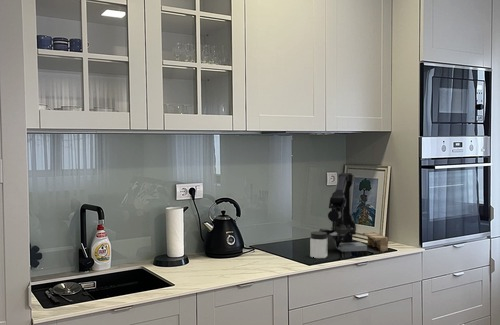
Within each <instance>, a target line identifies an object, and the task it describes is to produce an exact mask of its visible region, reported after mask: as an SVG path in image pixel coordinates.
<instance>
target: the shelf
mask: <svg viewBox="0 0 500 325" xmlns="http://www.w3.org/2000/svg"><path fill="white" fill-rule="evenodd" d="M362 235H363V236H366V238H367V246H371V247H373V248H375V247H376V248H378V250H379V252H388V251H389V237H387V236H384V235H382V234H380V233H377V232H376V231H375V232H369V231H368V232H362Z"/></svg>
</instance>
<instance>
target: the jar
mask: <svg viewBox="0 0 500 325" xmlns="http://www.w3.org/2000/svg"><path fill="white" fill-rule="evenodd" d="M309 240H310V241H309V244H310V246H309V247H310V248H309V251H310V253H309V257H311V258H313V257H314V259H326V258H327V257H328V236H327V233H326V232H319V231H312V232H310V239H309Z"/></svg>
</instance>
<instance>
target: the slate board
mask: <svg viewBox="0 0 500 325" xmlns="http://www.w3.org/2000/svg"><path fill="white" fill-rule="evenodd" d="M336 249H337V250H338V251H340V252H342V253H343V252H346V253H347V252H365V251H368V244H366V243H362V242H361V241H360V242H357V241H356V242H355V241H353V242H340V244H339V247H338V248H336Z"/></svg>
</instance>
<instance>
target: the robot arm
mask: <svg viewBox="0 0 500 325" xmlns="http://www.w3.org/2000/svg"><path fill="white" fill-rule="evenodd" d="M354 182H355V175H354V174H353V173H352V172H341V173H339V174H337V185H336V188H335V191H334V192H332V194H331V196H330V198H329V203H328V209H331V210H330V211H329V212H328V213H327V218H328V220H329V221H331V228H330V229H329V228H319V231H318V232H326V233H327V237H329V236H330V237H331V238H332V240H333V243H334V245H335V249H337V248H338V247H339V244H340V243H342V241H343V242H344V243H347V242H355V239H353V236H355V235H356V234H357V224H356V222H355V220H354V216H353V214H352V209H351V208H352V205H351V203H352V202H351V195H352V194H351V193H352V192H351V189H352V186H353V184H354Z"/></svg>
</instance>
